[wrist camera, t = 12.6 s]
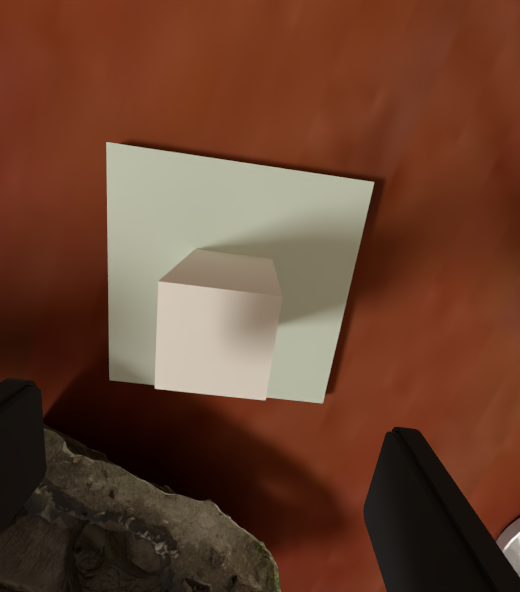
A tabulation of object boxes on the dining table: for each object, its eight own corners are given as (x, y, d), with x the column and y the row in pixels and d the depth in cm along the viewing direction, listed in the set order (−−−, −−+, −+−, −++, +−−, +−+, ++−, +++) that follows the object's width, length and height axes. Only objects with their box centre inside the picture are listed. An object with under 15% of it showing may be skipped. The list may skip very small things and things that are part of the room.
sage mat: (320, 395, 25) (322, 403, 24) (115, 372, 24) (109, 380, 23) (368, 182, 20) (374, 182, 19) (113, 144, 19) (106, 142, 18)
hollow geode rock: (23, 359, 29) (-189, 538, 20) (-1, 334, 18) (-450, 676, 10) (238, 524, 34) (141, 717, 26) (314, 577, 24) (192, 925, 16)
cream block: (262, 328, 22) (265, 400, 14) (190, 320, 21) (154, 388, 14) (272, 258, 20) (282, 296, 13) (195, 248, 20) (158, 281, 12)
